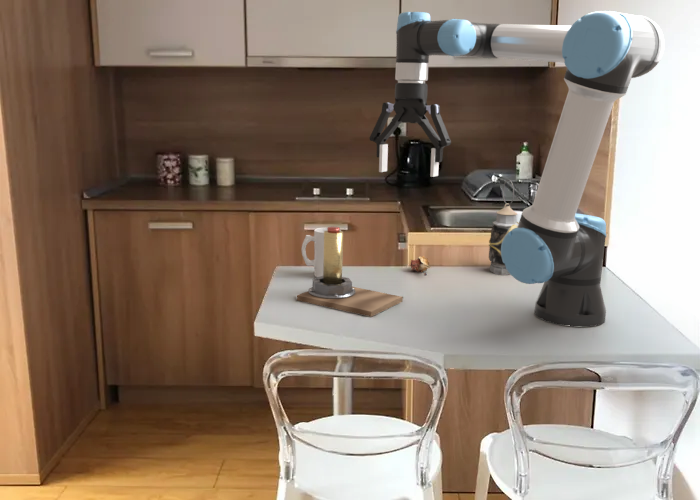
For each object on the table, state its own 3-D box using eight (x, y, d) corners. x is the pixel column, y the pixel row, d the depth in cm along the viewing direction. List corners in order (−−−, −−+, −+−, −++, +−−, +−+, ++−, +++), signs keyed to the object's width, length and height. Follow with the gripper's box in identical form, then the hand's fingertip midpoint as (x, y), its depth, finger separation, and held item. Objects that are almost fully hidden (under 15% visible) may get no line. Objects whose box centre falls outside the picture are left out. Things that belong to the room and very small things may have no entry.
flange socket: (364, 291, 182) (364, 279, 181) (338, 302, 173) (338, 289, 172) (325, 283, 187) (326, 272, 187) (298, 293, 178) (299, 281, 178)
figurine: (399, 268, 209) (400, 252, 208) (416, 266, 211) (416, 250, 210) (427, 280, 197) (427, 264, 196) (444, 278, 200) (444, 261, 199)
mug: (336, 271, 203) (337, 227, 200) (342, 278, 197) (343, 232, 194) (298, 273, 200) (299, 228, 198) (303, 280, 194) (304, 233, 191)
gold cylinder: (345, 290, 181) (347, 227, 177) (334, 294, 177) (336, 230, 174) (329, 286, 183) (331, 225, 179) (319, 291, 179) (320, 227, 176)
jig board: (402, 301, 178) (402, 296, 178) (371, 316, 167) (371, 311, 166) (330, 287, 189) (331, 282, 188) (296, 300, 177) (296, 295, 177)
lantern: (522, 275, 204) (530, 181, 199) (494, 276, 203) (501, 182, 197) (509, 267, 213) (516, 177, 207) (481, 268, 211) (488, 177, 205)
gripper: (468, 83, 175) (463, 176, 179) (372, 81, 187) (370, 168, 192) (454, 83, 169) (450, 179, 173) (356, 81, 181) (354, 171, 186)
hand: (408, 173), depth 183 cm, fingers open, 13 cm apart
